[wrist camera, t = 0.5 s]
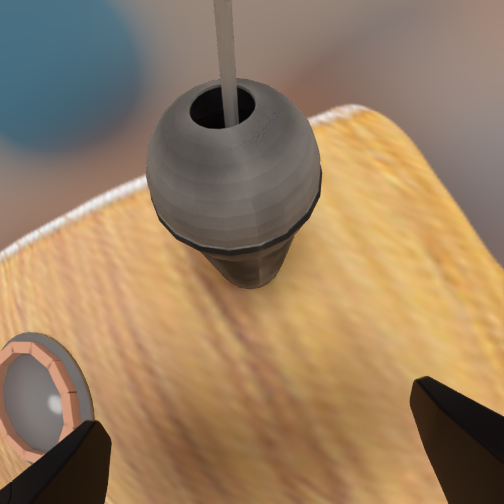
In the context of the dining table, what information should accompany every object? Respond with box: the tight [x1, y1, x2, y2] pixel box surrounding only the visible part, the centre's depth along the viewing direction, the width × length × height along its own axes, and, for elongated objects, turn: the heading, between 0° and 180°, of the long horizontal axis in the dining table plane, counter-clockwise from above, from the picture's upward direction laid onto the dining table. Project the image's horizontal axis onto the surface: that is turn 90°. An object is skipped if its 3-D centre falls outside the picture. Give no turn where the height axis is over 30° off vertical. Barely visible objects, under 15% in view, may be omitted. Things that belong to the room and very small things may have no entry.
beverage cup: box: [146, 0, 322, 289], centre depth 14 cm, size 7×7×20 cm
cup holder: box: [0, 332, 94, 464], centre depth 20 cm, size 13×13×2 cm
